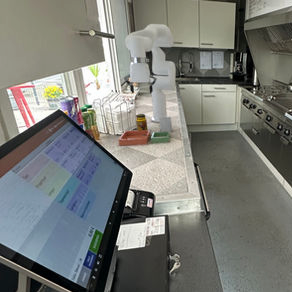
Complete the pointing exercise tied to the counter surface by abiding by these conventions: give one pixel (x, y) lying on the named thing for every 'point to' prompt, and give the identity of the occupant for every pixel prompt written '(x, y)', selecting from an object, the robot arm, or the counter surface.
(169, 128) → the grey rectangular block
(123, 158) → the counter surface
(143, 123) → the condiment
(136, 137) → the terracotta bin
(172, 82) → the robot arm
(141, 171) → the counter surface
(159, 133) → the green bin
